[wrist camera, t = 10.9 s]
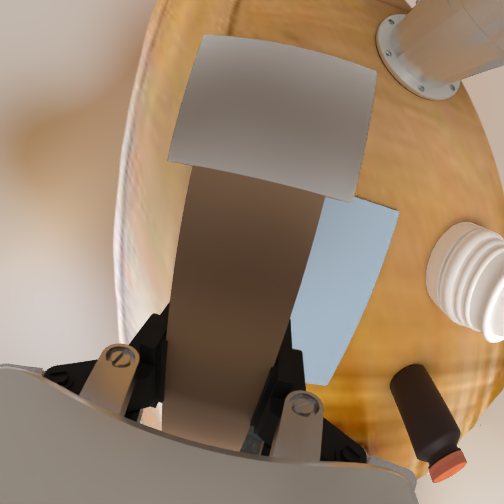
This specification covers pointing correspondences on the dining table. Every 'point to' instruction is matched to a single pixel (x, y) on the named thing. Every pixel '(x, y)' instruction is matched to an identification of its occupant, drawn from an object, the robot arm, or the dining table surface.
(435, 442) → the bottle
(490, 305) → the honey pot
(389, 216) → the mat
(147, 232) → the dining table surface
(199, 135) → the tool
